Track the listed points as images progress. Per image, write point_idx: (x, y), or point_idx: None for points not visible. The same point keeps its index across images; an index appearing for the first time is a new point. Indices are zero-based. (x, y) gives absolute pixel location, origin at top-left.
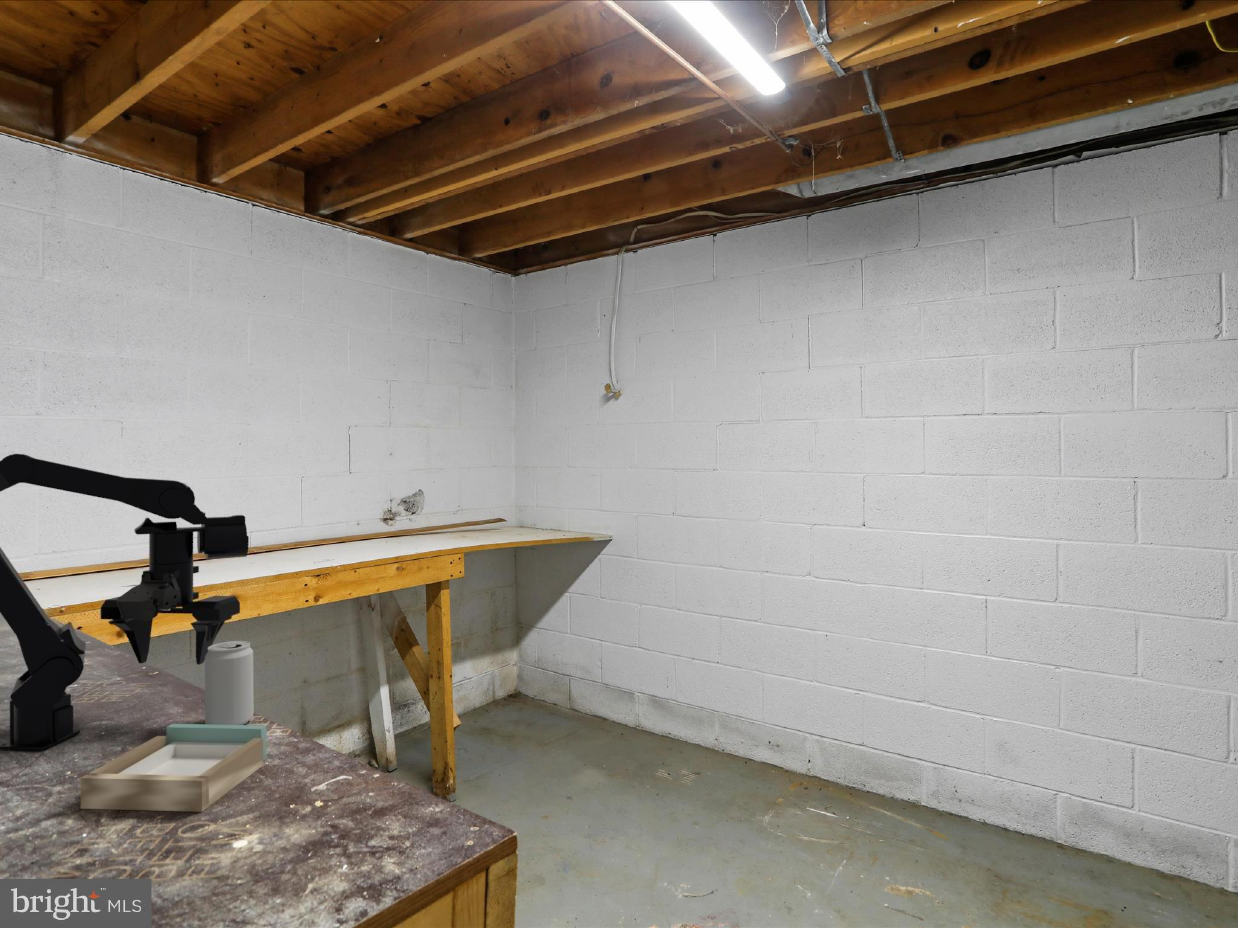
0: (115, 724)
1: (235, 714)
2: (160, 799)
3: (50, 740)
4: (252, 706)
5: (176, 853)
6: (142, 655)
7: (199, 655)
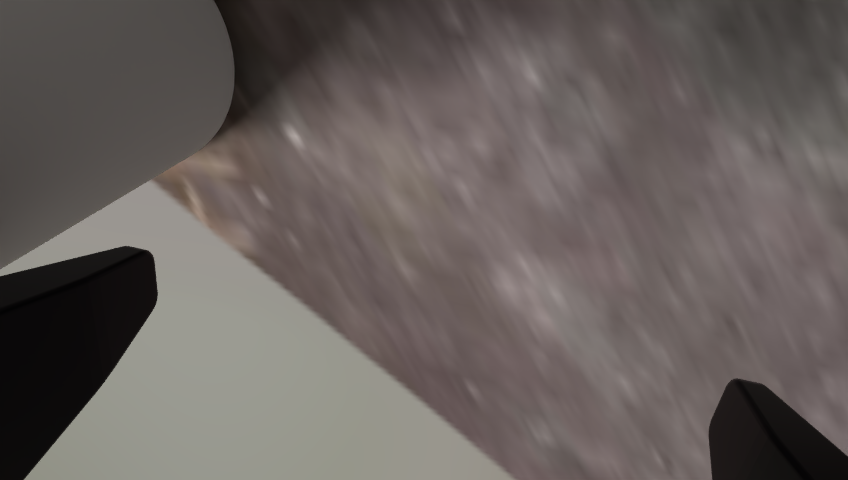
0: (784, 117)
1: None
2: None
3: None
4: None
5: None
6: (747, 446)
7: (41, 267)
